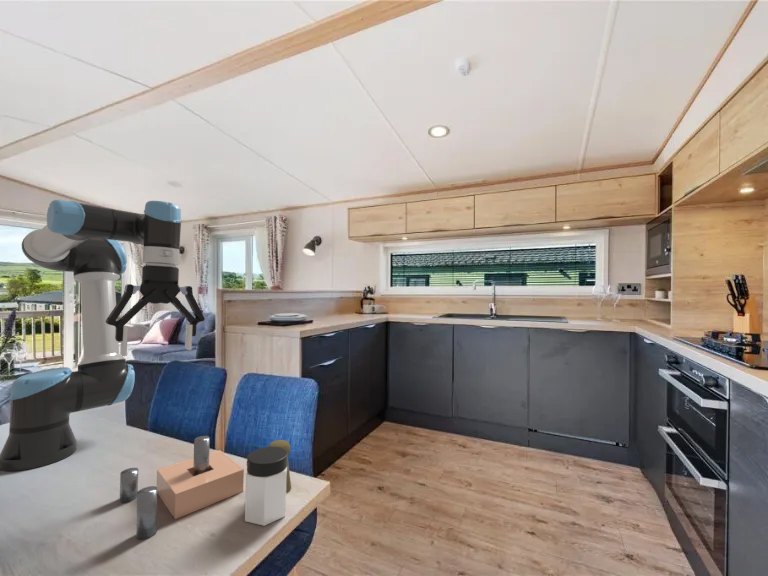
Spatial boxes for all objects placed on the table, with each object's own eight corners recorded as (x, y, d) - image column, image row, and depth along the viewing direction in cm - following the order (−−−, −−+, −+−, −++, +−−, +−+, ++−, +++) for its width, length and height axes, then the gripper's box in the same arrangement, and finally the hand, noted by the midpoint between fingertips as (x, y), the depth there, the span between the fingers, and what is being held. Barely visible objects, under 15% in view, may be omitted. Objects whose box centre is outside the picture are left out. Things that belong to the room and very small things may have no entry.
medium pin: (135, 533, 65) (135, 490, 65) (155, 525, 67) (155, 484, 67) (137, 542, 63) (137, 497, 63) (158, 534, 65) (158, 491, 65)
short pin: (118, 498, 76) (119, 471, 76) (135, 492, 78) (136, 466, 78) (121, 504, 74) (122, 476, 74) (139, 498, 76) (139, 471, 76)
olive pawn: (283, 498, 77) (284, 449, 77) (259, 495, 78) (260, 446, 78) (295, 484, 83) (296, 438, 83) (272, 481, 84) (273, 435, 84)
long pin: (190, 491, 79) (192, 438, 79) (205, 485, 81) (206, 434, 82) (195, 496, 77) (196, 442, 77) (210, 491, 79) (211, 438, 80)
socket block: (156, 491, 79) (156, 469, 79) (219, 469, 89) (219, 449, 89) (174, 519, 69) (175, 494, 69) (243, 491, 79) (243, 469, 79)
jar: (277, 495, 78) (278, 442, 78) (295, 512, 72) (296, 454, 72) (237, 512, 72) (238, 454, 72) (253, 532, 66) (254, 469, 66)
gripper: (98, 260, 73) (94, 361, 72) (219, 269, 91) (216, 349, 91) (92, 261, 78) (88, 355, 78) (208, 269, 96) (205, 345, 96)
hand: (157, 352), depth 84 cm, fingers open, 13 cm apart
